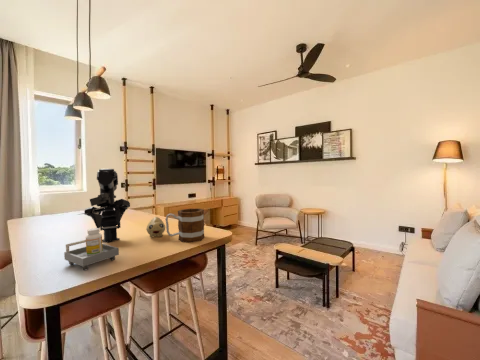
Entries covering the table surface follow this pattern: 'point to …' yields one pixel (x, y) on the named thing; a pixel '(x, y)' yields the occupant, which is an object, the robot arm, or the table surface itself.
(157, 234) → the yellow toy creature
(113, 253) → the grey toy cart
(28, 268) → the table surface
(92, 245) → the supplement bottle
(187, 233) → the mug
